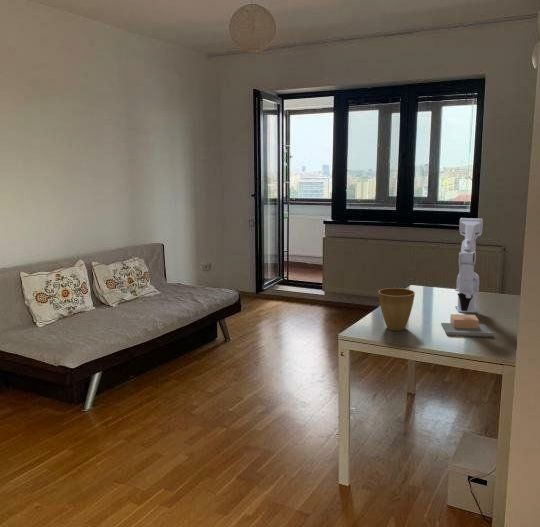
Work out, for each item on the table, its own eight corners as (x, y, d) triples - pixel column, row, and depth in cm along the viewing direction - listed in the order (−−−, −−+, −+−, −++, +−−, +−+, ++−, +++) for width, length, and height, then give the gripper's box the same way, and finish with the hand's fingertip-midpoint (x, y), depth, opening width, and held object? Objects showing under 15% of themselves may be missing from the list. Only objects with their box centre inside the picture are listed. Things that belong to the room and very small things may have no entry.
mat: (441, 324, 235) (441, 320, 234) (484, 325, 232) (484, 321, 232) (447, 335, 219) (447, 331, 219) (493, 337, 217) (494, 333, 216)
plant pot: (417, 325, 233) (419, 289, 230) (407, 335, 220) (408, 297, 217) (384, 321, 240) (385, 286, 237) (372, 330, 228) (373, 293, 225)
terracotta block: (450, 314, 235) (453, 319, 227) (474, 314, 233) (478, 320, 225) (450, 322, 235) (453, 327, 228) (474, 322, 234) (478, 328, 226)
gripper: (453, 275, 236) (451, 305, 239) (459, 283, 222) (457, 314, 224) (469, 275, 235) (468, 306, 238) (477, 283, 221) (475, 315, 223)
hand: (464, 310), depth 231 cm, fingers closed
